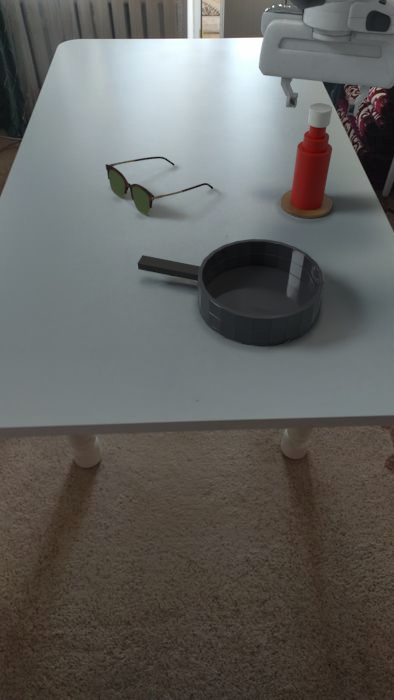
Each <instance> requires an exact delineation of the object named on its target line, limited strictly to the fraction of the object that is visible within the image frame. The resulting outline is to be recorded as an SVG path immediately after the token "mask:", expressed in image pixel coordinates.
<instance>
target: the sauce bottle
mask: <svg viewBox="0 0 394 700" xmlns="http://www.w3.org/2000/svg"><path fill="white" fill-rule="evenodd" d="M308 110H309V111H308V118H307V124H308V125H309V129H308V130H307V131H305V132H304V134H303V139H302V141H300V142H299V143H298V144H297V146H296V155H295V163H294V171H293V177H292V185H291V190H292V192H291V199H290V201H291V204H292V205H293V206H295V207H296V208H299V209H302V210H314V209H317V208H319V207H321V205H322V203H323V198H324V193H325V192H326V185H327V180H328V174H329V170H330V165H331V158H332V151H333V146H332V145H331V144H330V143H329V141H330V134H329V133H328V132H327V128H328V127H329V126H330V124H331V117H332V113H333V112H332V111H333V107H332V106H331V105H330V104H327V103H322V102H318V103H317V102H316V103H312V104H311V105H310V106H309V109H308Z"/></svg>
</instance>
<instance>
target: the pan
mask: <svg viewBox="0 0 394 700" xmlns="http://www.w3.org/2000/svg"><path fill="white" fill-rule="evenodd" d="M199 266H200V268H199V271H198V281H197V304H198V311H199V313H200V315H201V317H202V320H204V323H206V324H207V325H208V327H210V329H212V330H213V331H214V332H216V333H217V334H219V335H220V336H222V337H224V338H226V339H228V340H231V341H233V342H235V343H239V344H244V345H250V346H274V345H275V346H276V345H281V344H285V343H288V342H290V341H293V340H295V339H297V338H300V336H302V335H304V334H305V333H306V332H307V331H308V330H310V329H311V327H312V326H313V325H314V323H315V322H316V320H317V318H318V314H319V309H320V305H321V301H322V295H323V291H324V286H325V278H324V274H323V271H322V269H321V267H320V266H319V264H318V262H317V261H316V260H315V259H314V258H312V256H311V255H309V254H308V253H307V252H305V251H303V250H302V249H300V248H298V247H296V246H294V245H292V244H288V243H285V242H283V241H278V240H273V239H266V238H248V239H242V240H235V241H232V242H228V243H226V244H223V245H221V246H219V247H217V248H216V249H214V250H211V252H209V254H208V255H206V257H204V258H203V260H202V262H201V264H200V265H199Z"/></svg>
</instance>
